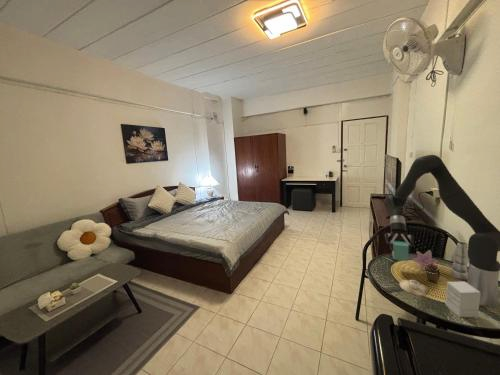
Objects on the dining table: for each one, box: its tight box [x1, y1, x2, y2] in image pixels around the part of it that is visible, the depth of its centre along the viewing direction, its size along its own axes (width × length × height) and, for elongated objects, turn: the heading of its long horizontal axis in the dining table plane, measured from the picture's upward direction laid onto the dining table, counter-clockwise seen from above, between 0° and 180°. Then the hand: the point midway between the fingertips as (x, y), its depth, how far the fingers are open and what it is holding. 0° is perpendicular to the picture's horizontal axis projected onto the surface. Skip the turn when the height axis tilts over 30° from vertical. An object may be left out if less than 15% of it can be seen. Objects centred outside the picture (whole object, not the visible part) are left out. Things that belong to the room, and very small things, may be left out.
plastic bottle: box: [450, 241, 469, 281], centre depth 110 cm, size 6×7×20 cm
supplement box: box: [445, 280, 481, 320], centre depth 90 cm, size 7×7×13 cm
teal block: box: [391, 240, 409, 262], centre depth 119 cm, size 7×7×8 cm
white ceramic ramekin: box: [409, 279, 420, 290], centre depth 106 cm, size 4×4×3 cm
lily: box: [411, 249, 439, 271], centre depth 123 cm, size 12×12×10 cm
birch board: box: [399, 279, 430, 296], centre depth 107 cm, size 12×12×1 cm
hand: (400, 251), depth 117 cm, fingers closed on teal block, 6 cm apart
